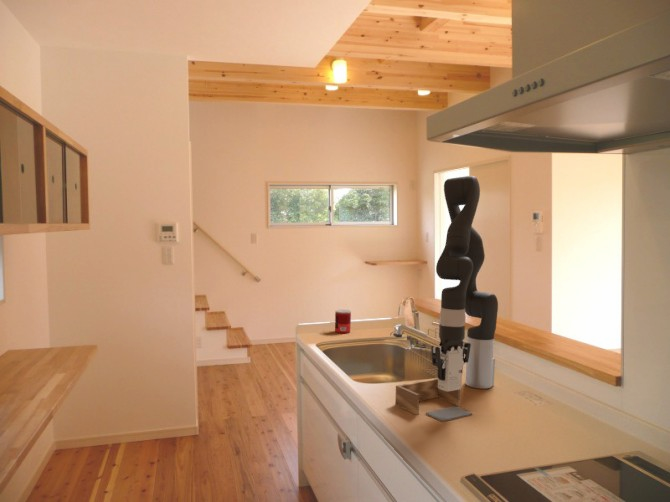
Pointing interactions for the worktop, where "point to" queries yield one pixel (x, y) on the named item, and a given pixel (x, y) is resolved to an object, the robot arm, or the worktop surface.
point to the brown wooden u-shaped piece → (423, 394)
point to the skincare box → (452, 371)
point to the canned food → (342, 321)
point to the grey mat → (448, 413)
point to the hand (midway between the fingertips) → (449, 378)
